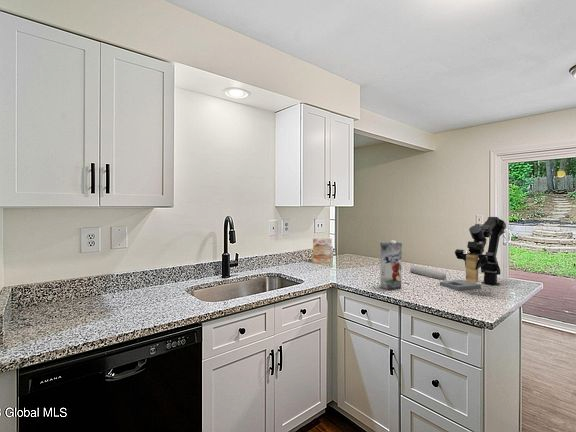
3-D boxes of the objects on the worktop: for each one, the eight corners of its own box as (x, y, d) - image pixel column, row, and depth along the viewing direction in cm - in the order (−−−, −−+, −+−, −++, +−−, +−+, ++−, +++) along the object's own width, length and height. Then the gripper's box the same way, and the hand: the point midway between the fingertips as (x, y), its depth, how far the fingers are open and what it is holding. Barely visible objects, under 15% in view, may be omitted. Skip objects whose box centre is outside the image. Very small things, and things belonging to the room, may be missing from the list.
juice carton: (378, 287, 175) (378, 240, 174) (392, 285, 179) (392, 239, 179) (388, 291, 167) (389, 241, 166) (403, 288, 171) (404, 240, 170)
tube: (448, 273, 192) (416, 266, 214) (443, 271, 190) (411, 264, 212) (446, 281, 192) (414, 273, 214) (441, 280, 189) (409, 271, 212)
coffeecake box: (313, 262, 252) (312, 239, 251) (313, 261, 259) (313, 238, 258) (331, 263, 249) (331, 239, 249) (331, 261, 256) (331, 238, 256)
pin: (468, 280, 164) (469, 254, 163) (478, 281, 161) (478, 255, 160) (465, 281, 161) (466, 255, 160) (475, 283, 158) (475, 256, 157)
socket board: (461, 282, 183) (461, 279, 183) (480, 288, 171) (480, 284, 171) (439, 285, 179) (439, 281, 179) (458, 290, 166) (458, 287, 166)
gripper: (456, 234, 170) (447, 256, 163) (495, 237, 156) (488, 261, 149) (461, 247, 175) (453, 269, 168) (499, 250, 161) (493, 275, 154)
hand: (471, 268), depth 160 cm, fingers closed on pin, 4 cm apart
